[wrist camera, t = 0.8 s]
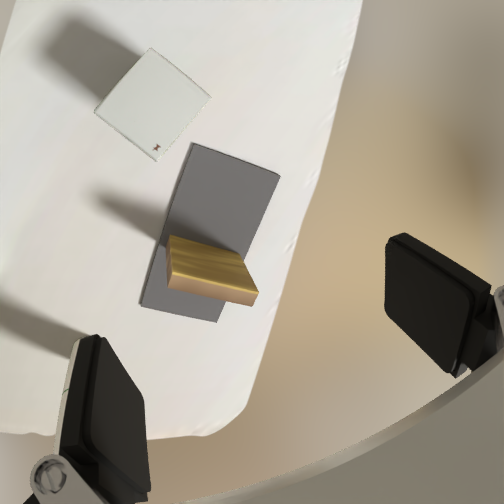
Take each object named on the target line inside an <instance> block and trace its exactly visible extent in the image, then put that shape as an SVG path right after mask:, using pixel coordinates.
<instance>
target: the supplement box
mask: <svg viewBox="0 0 504 504" xmlns="http://www.w3.org/2000/svg"><path fill="white" fill-rule="evenodd" d="M211 99H212V98H211V96H209V95H208V94H207V93H206V92H205V91H204V90H203V89H202V88H201V87H200V86H198V85H197V84H196V83H195V82H194V81H193V80H191V79H190V78H189V77H188V76H187V75H185V74H184V73H183V72H182V71H181V70H179V69H178V68H177V67H176V66H174V65H173V64H172V63H171V62H169V61H168V60H167V59H166V58H164V57H163V56H162V55H160V54H159V53H158V52H156V51H155V50H154V49H152V48H149V50H148V51H147V52H146V53H145V54H144V55H143V56H142V57H141V58H140V59H139V60H138V61H137V62H136V63H135V64H134V65H133V66H132V67H131V68H130V70H129V71H128V72H127V73H126V74H125V75H124V76H123V77H122V78H121V79H120V80H119V81H118V83H117V84H116V85H115V86H114V87H113V88H112V89H111V91H110V92H109V93H108V94H107V95H106V96H105V98H104V99H103V100H102V101H101V102H100V104H99V105H98V106H97V107H96V109H95V110H94V113H95V114H96V115H97V116H98V117H99V118H101V119H102V120H103V121H105V122H106V123H107V124H108V125H110V126H111V127H112V128H114V129H115V130H116V131H117V132H119V133H120V134H121V135H122V136H124V137H125V138H126V139H127V140H129V141H130V142H132V143H133V144H134V145H135V146H137V147H138V148H139V149H140V150H142V151H143V152H144V153H145V154H147V155H148V156H149V157H150V158H152V159H153V160H154V161H155V162H158V161H159V160H160V158H161V157H162V156H163V155H164V154H165V152H166V151H167V150H168V149H169V148H170V146H171V145H172V144H173V143H174V142H175V140H176V139H177V138H178V137H179V136H180V135H181V133H182V132H183V131H184V130H185V129H186V127H187V126H188V125H189V124H190V123H191V122H192V121H193V119H194V118H195V117H196V116H197V115H198V114H199V112H200V111H201V110H202V109H203V108H204V107H205V106H206V104H207V103H208V102H209V101H210V100H211Z"/></svg>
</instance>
